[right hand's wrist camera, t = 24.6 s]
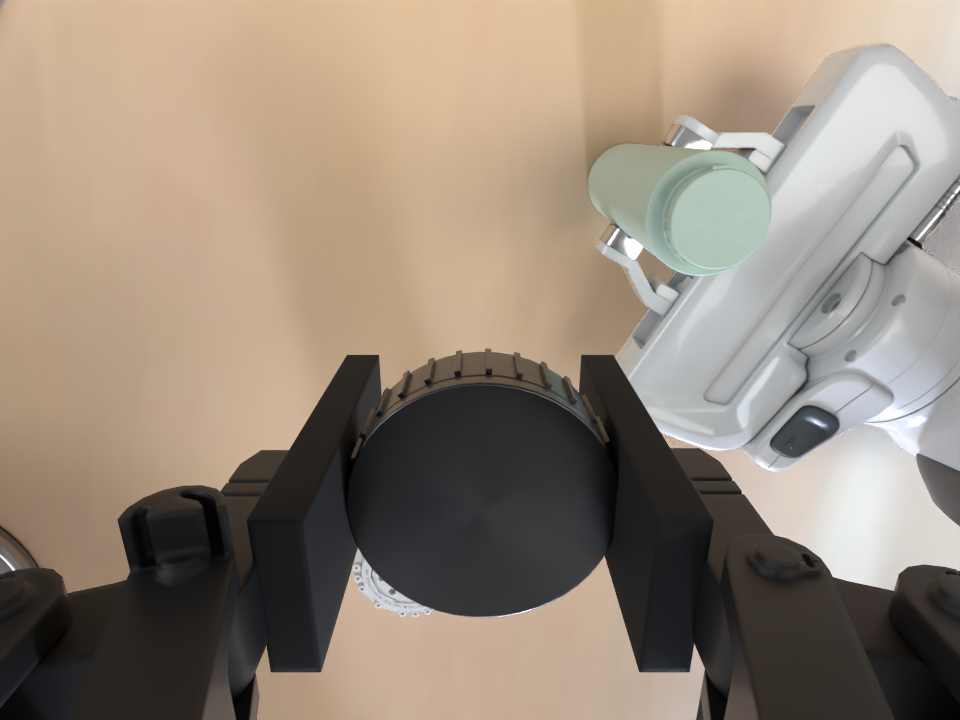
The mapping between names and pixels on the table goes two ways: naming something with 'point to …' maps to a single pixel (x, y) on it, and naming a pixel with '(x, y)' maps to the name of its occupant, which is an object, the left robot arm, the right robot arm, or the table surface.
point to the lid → (482, 486)
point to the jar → (683, 203)
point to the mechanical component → (383, 591)
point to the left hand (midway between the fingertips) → (636, 184)
